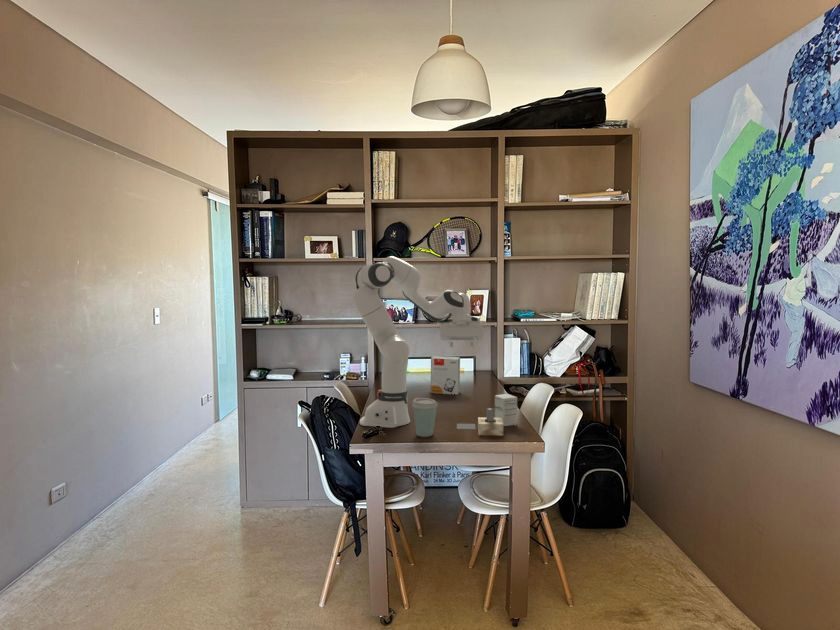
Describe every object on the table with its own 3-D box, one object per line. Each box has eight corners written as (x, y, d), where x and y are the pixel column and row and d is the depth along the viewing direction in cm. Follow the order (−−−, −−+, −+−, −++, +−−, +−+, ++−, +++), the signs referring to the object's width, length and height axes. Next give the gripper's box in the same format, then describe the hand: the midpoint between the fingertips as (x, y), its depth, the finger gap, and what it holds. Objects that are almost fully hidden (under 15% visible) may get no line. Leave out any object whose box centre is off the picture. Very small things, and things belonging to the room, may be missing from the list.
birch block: (478, 435, 218) (478, 423, 218) (477, 428, 228) (477, 417, 228) (503, 436, 217) (503, 424, 217) (501, 429, 227) (501, 417, 227)
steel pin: (486, 433, 221) (486, 409, 221) (486, 431, 224) (486, 408, 224) (493, 433, 221) (494, 409, 220) (493, 431, 224) (493, 408, 223)
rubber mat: (456, 429, 227) (456, 428, 227) (456, 424, 235) (456, 423, 235) (475, 430, 226) (475, 429, 226) (475, 424, 234) (475, 423, 234)
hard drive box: (430, 393, 295) (430, 357, 293) (433, 390, 302) (433, 355, 301) (457, 395, 291) (457, 358, 290) (460, 392, 299) (460, 356, 297)
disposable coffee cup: (436, 431, 224) (436, 396, 223) (438, 439, 214) (438, 402, 212) (411, 431, 224) (411, 396, 223) (412, 439, 213) (411, 403, 212)
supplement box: (493, 422, 237) (494, 394, 236) (508, 421, 240) (508, 393, 239) (503, 427, 230) (503, 398, 229) (517, 425, 233) (517, 396, 232)
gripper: (439, 318, 249) (438, 342, 240) (483, 318, 247) (484, 342, 238) (439, 327, 253) (438, 350, 244) (483, 327, 252) (483, 350, 243)
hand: (461, 346), depth 241 cm, fingers open, 8 cm apart
